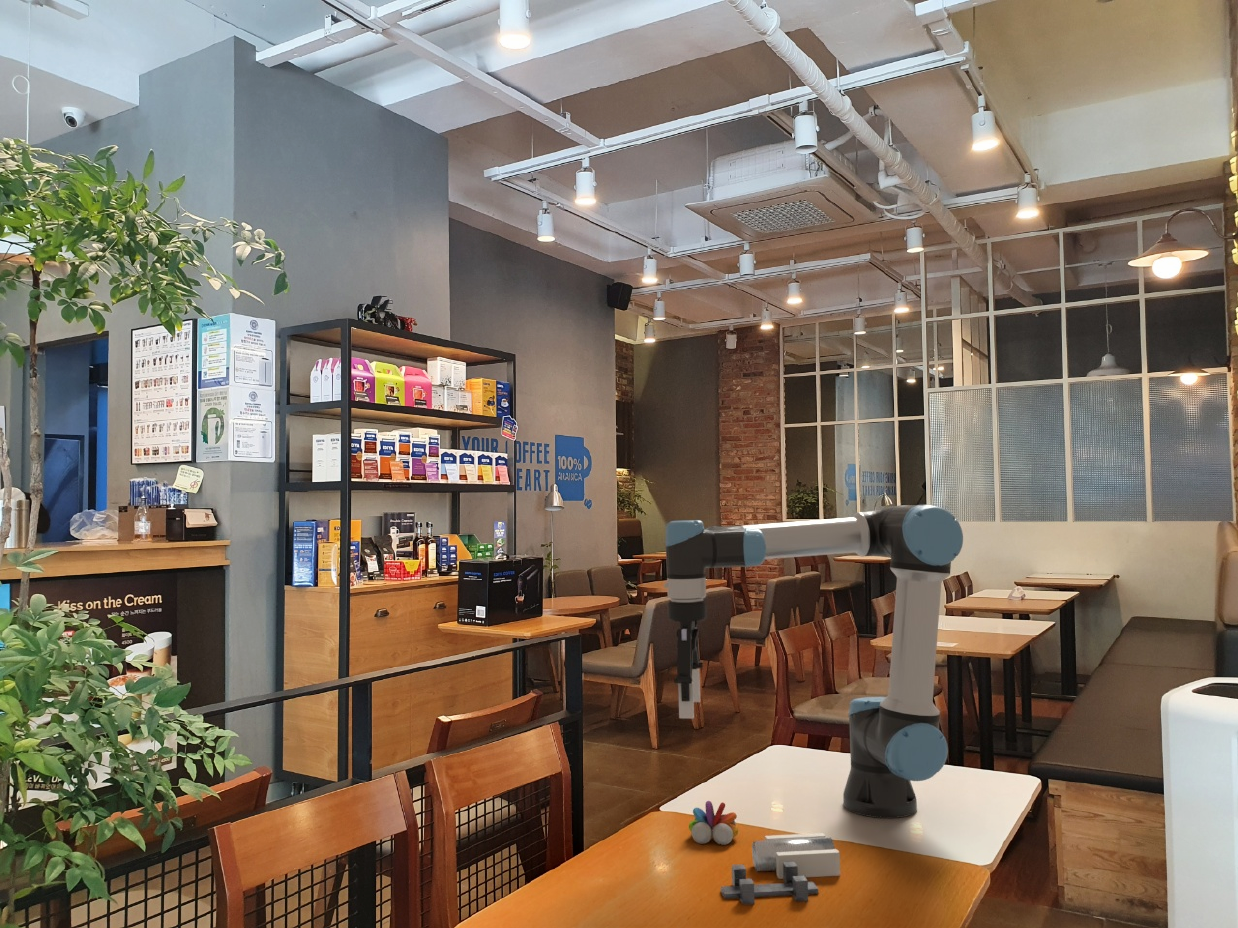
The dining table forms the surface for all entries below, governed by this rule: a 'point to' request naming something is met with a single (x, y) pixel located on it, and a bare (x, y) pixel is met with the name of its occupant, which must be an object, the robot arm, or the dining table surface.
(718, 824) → the rainbow petal fan toy
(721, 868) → the dining table surface
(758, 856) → the axle
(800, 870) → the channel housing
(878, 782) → the robot arm
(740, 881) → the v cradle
